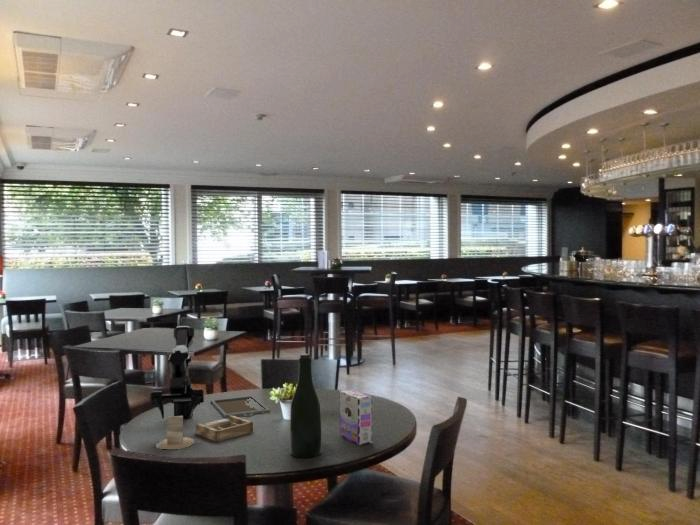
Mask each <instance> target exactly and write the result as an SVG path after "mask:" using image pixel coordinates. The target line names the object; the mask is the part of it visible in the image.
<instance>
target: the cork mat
mask: <svg viewBox="0 0 700 525" xmlns="http://www.w3.org/2000/svg"><path fill="white" fill-rule="evenodd" d="M162 440H163V441H164V442H162V443H161V444H160V445H161V446H159V447H158V448H160V449H159V450H161V449H178V450H181V449H180V448H183V449H186V448H185V447H187V448H189V446H190V447H191V445H192V444H193V443H194V444H195V440H194V439H193V438H190V437H186V436H185V437H184V436H183V443H182V444H174V445H167V438H165V439H162ZM194 444H193V445H194ZM193 445H192V446H193ZM158 448H157V449H158Z"/></svg>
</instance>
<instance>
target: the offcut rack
mask: <svg viewBox="0 0 700 525" xmlns="http://www.w3.org/2000/svg"><path fill="white" fill-rule="evenodd" d="M253 432H254V422H253V421H251V420H247V419H244V418H242V417H240V416H237V417H236V416H232V415H230V416H229V418H224V419H218V420H214V421H211V422H206V423H200V422H198V423H195V434H196V433H197V434H196V435H199V436H201V435H202V436H201V437H204V438H207V439H208V440H211V441H214V442H216V443H217V442H220V441H225V440H228V439H231V438H235V437H239V436H243V435H247V434H250V433H253Z"/></svg>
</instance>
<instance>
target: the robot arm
mask: <svg viewBox="0 0 700 525" xmlns="http://www.w3.org/2000/svg"><path fill="white" fill-rule="evenodd" d="M195 334H196V332H195V328H193V327H191V326H188V325H178V326H176V327H175V328H173V338H174V339H175V347H174V348H172V350H171V354H169V355H168V356H169V357H168V358H167V360H168V365H169V367H170V372H171V373H170V374H171V375H170V378H169V385H168V386H169V388H168V392H169V393H166V394H163V390H154V391H151V393H150V396H149V398H150V403H151V404H150V405H151V406H155V408H158V410H159V412H160V415H161V419H162V420H164V419H165V408H164V401H167V400H168V401H170V400H171V404H172V405H173V416H183V420H188V419H189V418H190V419H191V417H192V416H193V415H194V411H195V409H196V408H197V407H198V406H200V405H201V403H204V402H205V391H204V389H203V388H195V389H194V387H192V382H191V379H190V376H189V364H191V362H192V360H193V359H192V356H191V353H189V352H190V347H191V346H192V345H193V343H194V339H195V336H196V335H195Z"/></svg>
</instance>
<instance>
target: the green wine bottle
mask: <svg viewBox="0 0 700 525" xmlns="http://www.w3.org/2000/svg"><path fill="white" fill-rule="evenodd" d="M312 364H313V359H312V357H311V354H310V353H301V354H300V355H299V358H298V378H297V379H298V380H297V384H296V388H295V391H294V393H293V396H292V399H291V404H290V412H289V413H290V415H289V417H290V418H289V420H290V422H289V452H290V454H291V455H292V457H293V456H294V457H296V458H303V459H304V458H313V457H317V456H319V455H321V453H322V449H323V448H322V445H323V444H322V440H323V439H322V435H323V434H322V408H321V401H320V398H319V395H318V393H317V390H316V387H315V384H314V379H313V370H312V369H313V368H312Z"/></svg>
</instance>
